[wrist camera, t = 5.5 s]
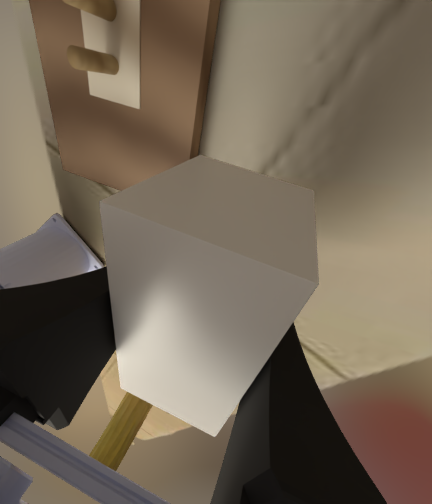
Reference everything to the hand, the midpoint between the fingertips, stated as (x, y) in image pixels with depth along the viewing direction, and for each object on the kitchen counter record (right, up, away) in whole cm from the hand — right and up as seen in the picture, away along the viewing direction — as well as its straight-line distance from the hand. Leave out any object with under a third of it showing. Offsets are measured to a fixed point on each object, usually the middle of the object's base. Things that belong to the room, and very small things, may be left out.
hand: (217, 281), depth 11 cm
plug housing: (+1, +1, +1) cm, 2 cm away
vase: (-15, -28, +36) cm, 48 cm away
